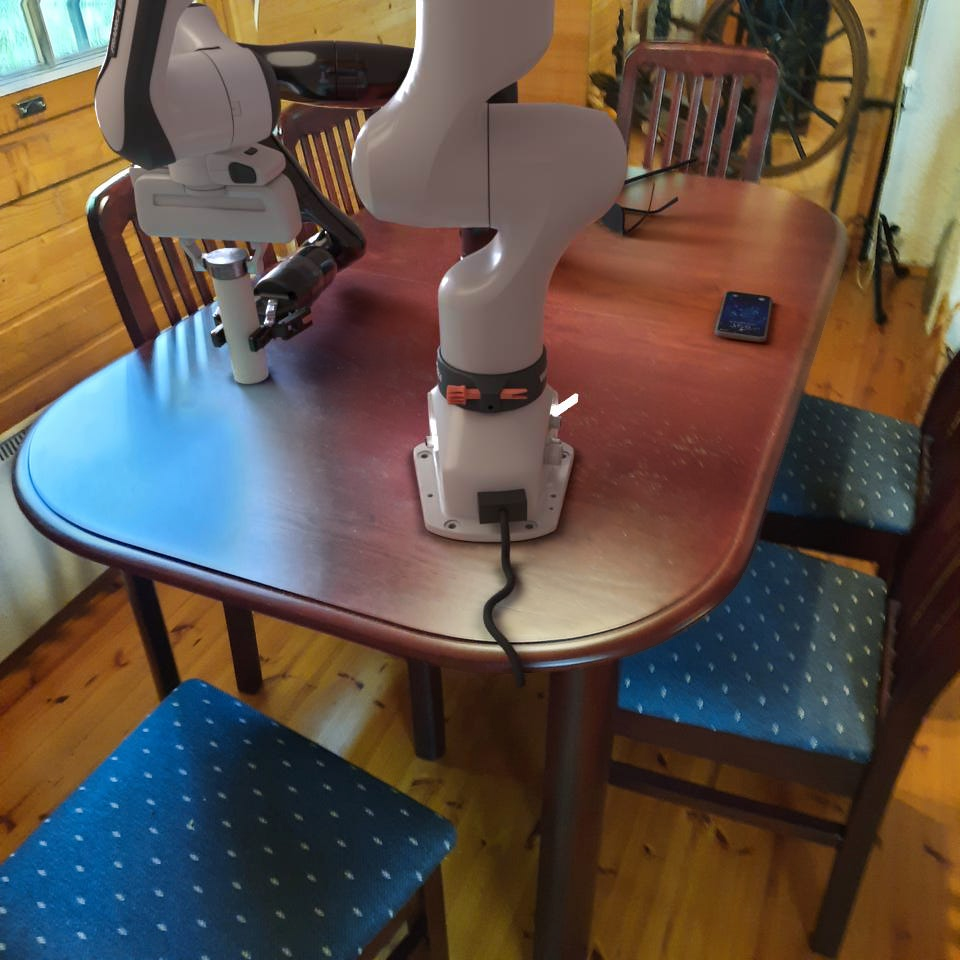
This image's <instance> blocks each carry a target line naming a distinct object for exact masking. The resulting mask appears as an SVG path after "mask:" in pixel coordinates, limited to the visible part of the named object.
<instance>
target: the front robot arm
mask: <svg viewBox="0 0 960 960" xmlns="http://www.w3.org/2000/svg"><path fill="white" fill-rule="evenodd" d="M195 1H196V0H114V5H113V11H112V19H111V23H110V29H109V37H108V45H107V49H106V53H105V57H104V61H103V63H102V66H101V69H100V71H99V73H98V76H97V78H96V82H95V86H94V94H93V101H94V110H95V115H96V119H97V124H98V126H99V130H100V133H101V135H102V137H103V139H104V141H105V142H106V144H107V146H108V148H109V149H110V150H111V151H112V152H113V153H115V154H116V155H117V156H119V157H120V158H122V159H123V160H125V161H127V162H129V163H130V166H129V169H128V172H129V173H128V174H129V177H130V181H131V184H132V187H133V189H134V191H133V193H134V201H135V202H134V203H135V209H136V216H137V221H138V225H139V228H140V229H141V230H142V232H143V233H144V234H145V235H146V236H148V237H158V238H176V239H178V243H179V246H180V247H181V249H182V250H183V251H184V252H185V253H186V255H187V256H188V257H189V258H190V259H191V262H192V264H193V269H194V271H196V272H208V270H207V266H206V259H205V258H206V256H207V255H208V254H209V253H203V251H202V250H201V248H200V247H199V246H198V244H197V243H196V241H197V240H213V241H229V242H230V241H232V242H248V243H249V244H250V249H251V250H254V251H255V252H254V255H253V256H249V260H247V261H246V266H247V268H248V270H247V271H248V274H250V275H255V276H256V275H258V276H261V275H262V273H264V270H265V265H264V260H263V258H264V256H265V253H266V251H267V249H268V246H269V243H270V244H282V245H283V244H284V245H285V244H290V243H291V242H293V241H294V240H295V239H296V238H297V237H298V235H299V234H300V232H301V231H302V227H303V224H302V221H301V215H300V210H299V205H298V201H297V197H296V194H295V190H294V187H293V185H292V183H291V181H290V180H289V178H288V177H287V176H285V175H284V174H282V173H281V172H282V171H283V170H284V168H285V166H286V162H285V157H284V155H283V154H282V153H281V152H279V151H277V150H275V149H272V148H269V147H266V146H263V145H261V144H258V143H257V142H259V141H261V140H263V139H266V138H269V137H270V136H271V134H272V133H273V134H274V131H275V130H276V128H277V126H278V124H279V121H280V118H281V113H282V100H281V98H280V91H279V86H278V82H277V78H276V75H275V73H274V70H273V69H272V67H271V66H270V65H269V64H268V63H267V62H266V61H265V60H264V59H263V58H262V57H261V56H260V55H258V54H257V53H256V52H254V51H253V50H251V49H249V48H243V47H241V46H239V45H238V44H236V43H235V42H236V41H235V40H233V39H231V38H230V37H229V36H228V35H227V34H226V33H225V32H224V31H223V29H222V28H221V26H220V24H219V22H218V18H217V16H216V13H215V12H214V10H213V9H212V8H211V7H210V6H209V5H207V4H204V3H201V2H195ZM555 4H556V0H415V6H416V7H415V8H416V11H415V13H416V18H415V19H416V21H415V23H416V24H415V25H416V26H415V27H416V28H415V43H414V48H415V49H414V54H413V59H412V62H411V65H410V68H409V71H408V73H407V75H406V77H405V79H404V81H403V83H402V85H401V86H400V88H399V89H398V91H397V92H396V93H395V95H394V96H393V97H392V98H391V99H390V101H389V102H387V103H386V104H385V105H384V106H383V107H380V109H378V110H377V111H376V112H375V113H373V114H372V115H370V116H369V118H368V119H366V121H365V122H364V124H363V125H362V127H361V128H360V130H359V131H358V133H357V136H356V138H355V141H354V144H353V148H352V153H351V176H352V181H353V185H354V188H355V191H356V193H357V196H358V198H359V199H360V201H361V203H362V204H363V206H364V207H365V208H366V210H367V211H368V213H370V215H372V216H373V217H374V218H375V219H376V220H378V221H382V222H387V223H391V224H396V225H400V226H401V225H402V226H408V227H413V228H417V229H460V228H472V227H489V181H490V228H494V229H497V230H498V233H497V234H496V236H495V237H494V238H493V240H492V241H491V242H490V243H489V244H487V245H486V246H485V247H483V248H482V249H480V250H478V251H476V252H474V253H472V254H470V255H468V256H467V257H465V258H463V259H461V258H460V260H458V261H457V262H455V263H454V265H452V266H451V267H450V268H449V269H448V270H447V271H446V273H445V274H444V275H443V277H442V278H441V281H440V283H439V286H438V290H437V307H438V324H439V326H438V327H439V340H440V341H439V342H440V345H439V346H438V348H437V354H436V356H437V358H436V363H435V364H436V376H437V384H436V385H435V387H434V386H433V388H432V389H431V390H430V391H428V392H427V406H428V407H427V409H428V424H429V435H426V436H425V438H424V442H422V443H419V444H417V445H416V446H415V447H414V448H413V454H412V455H413V457H412V458H413V464H414V470H415V475H416V476H415V477H416V480H417V487H418V492H419V498H420V499H419V500H420V503H421V504H420V505H421V510H422V516H423V522H424V526H425V529H426V530H427V531H428V532H429V533H432V534H434V535H437V536H440V537H443V538H448V539H452V540H457V541H466V542H477V543H478V542H480V543H501V544H500V545H501V549H500V551H501V552H500V556H501V557H500V559H501V560H500V561H501V568H502V572H503V574H504V576H505V578H506V582H505V584H504V586H503V587H502V588H501V589H500V590H498V591H497V592H496V593H495V594H493V595H492V596H491V597H490V598H489V599H488V600H487V601H485V604H484V605H483V609H482V611H483V612H482V621H483V625H484V628H485V629H486V631H487V632H488V633H489V635H490V636H491V637H492V638H493V639H494V640H495V642H496V643H497V644H498V645H499V646H500V647H501V649H502V650H503V651H504V653H505V655H506V656H507V659H508V660H509V663H510V665H511V668H512V671H513V676H514V681H515V684H516V687H518V688H524V687H525V686H526V677H525V672H524V668H523V665H522V662H521V661H522V660H521V659H520V656H519V655H518V653H517V651H516V649H515V647H514V646H513V645H512V643H511V642H510V641H509V640H508V638H507V637H506V636H505V635H504V634H503V632H501V631H500V629H499V628H498V627H497V626H496V623H495V621H494V619H493V610H494V608H495V607H496V606H497V605H498V604H499V603H501V602H502V601H504V600H505V599H506V598H507V597H509V596H510V595H511V593H512V592H513V591H514V589H515V587H516V582H517V579H516V575H515V573H514V571H513V568H512V565H511V564H512V563H511V542H518V541H527V540H531V539H536V538H539V537H543V536H546V535H548V534H550V533H552V532H554V531H556V530H557V527H558V525H559V520H560V518H561V517H560V516H561V512H562V508H563V504H564V500H565V497H566V492H567V488H568V483H569V480H570V476H571V472H572V469H573V468H572V467H573V464H574V459H575V450H574V447H573V446H571V445H570V444H568V443H566V442H563V441H561V439H560V438H558V430H560V429H561V428H562V416H559V415H560V414H562V413H563V412H565V411H566V410H568V408H571V407H572V406H574V405H575V404H577V403H578V397H579V394H577V393H574V394H573V395H571V396H570V397H569V398H567V399H566V400H565V401H562V402H561V403H560V404H559V392H557V391H556V390H555V389H554V388H553V387H552V386H551V385H550V384H549V383H548V382H547V379H548V367H549V361H548V356H547V355H548V354H547V353H548V351H547V347H546V345H545V344H544V332H545V331H544V330H545V329H544V328H545V316H546V307H547V298H548V292H549V287H550V282H551V279H552V276H553V273H554V272H555V269H556V267H557V265H558V264H559V262H560V259H562V258H561V257H562V256H563V255H564V253H565V252H566V251H567V249H568V248H569V247H570V245H571V244H572V243H573V242H574V241H575V240H576V239H577V237H579V236H580V235H581V233H583V232H584V230H586V229H587V228H588V227H589V226H591V225H592V224H594V223H595V222H597V221H599V220H598V219H599V218H601V217H602V216H604V215H605V214H606V213H607V212H608V211H609V209H610V208H611V207H612V206H613V204H614V203H616V202H617V200H618V199H619V196H620V194H621V192H622V191H623V188H624V186H625V185H624V181H625V180H626V178H627V172H628V171H627V170H628V153H627V147H626V143H625V139H624V136H623V135H622V132H621V130H620V128H619V127H618V125H617V123H616V122H615V120H614V119H613V118H612V116H611V115H610V114H608V112H606V111H604V110H600V109H597V108H596V109H595V108H592V107H587V106H582V105H576V104H571V103H564V102H559V101H558V102H518V103H503V104H489V148H488V103H485V102H486V101H487V100H488V99H489V98H490V97H491V96H492V95H494V94H495V93H497V92H498V91H500V90H501V89H503V88H505V87H507V86H509V85H511V84H512V83H514V82H516V81H517V82H518V81H520V80H521V79H523V78H524V77H525V76H527V75H528V74H529V73H530V72H531V71H532V70H533V69H534V68H535V67H536V66H537V65H538V63H539V62H540V61H541V60H542V58H543V57H544V56H545V54H546V53H547V50H548V49H549V46H550V44H551V41H552V39H553V35H554V30H555V29H554V27H555V26H554V25H555Z"/></svg>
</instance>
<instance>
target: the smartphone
mask: <svg viewBox="0 0 960 960" xmlns="http://www.w3.org/2000/svg"><path fill="white" fill-rule="evenodd" d="M773 302H774V301H773V298H772V297H771V296H769V295H763V294H756V293H749V292H743V291H734V290H729V291H726V292H725V293H724V295H723V299H722V301H721V306H720V310H719V312H718V317H717V319H716V322H715V328H714V334H715V335H716V336H717V337H718V338H719V337H720V338H725V339H732V340H739V341H747V342H754V343H764V342H765V341H767V338H768V333H769V328H770V318H771V313H772V307H773Z"/></svg>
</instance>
